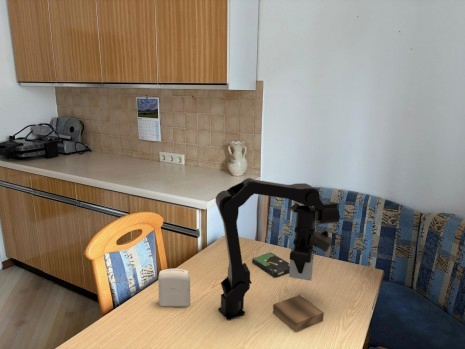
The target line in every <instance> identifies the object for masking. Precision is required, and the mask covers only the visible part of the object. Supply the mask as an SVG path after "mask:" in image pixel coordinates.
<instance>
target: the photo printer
mask: <svg viewBox="0 0 465 349" xmlns="http://www.w3.org/2000/svg"><path fill="white" fill-rule="evenodd" d="M157 280H158V282H157V283H158V303H159V306H161V307H176V308H177V307H189V306H190V305H191V276H190V273H189V270H187V269H181V268H167V269H163V270H160V271H159V274H158V279H157Z"/></svg>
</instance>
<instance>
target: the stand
mask: <svg viewBox="0 0 465 349" xmlns="http://www.w3.org/2000/svg"><path fill="white" fill-rule="evenodd" d="M272 313H273V314H274V315H275V316H276V317H278V318H279V319H280V320H281V321H282V322H283V323H284V324H285V325H287V326H288V327H289V328H290V329H291V330H293V331H294V332H295V333H297V332H300V331H302V330H304V329H307V328H309V327H312V326H314V325H317V324H319V323H321V322H323V321H324V314H325V312H324V311H323V310H321V308H319V307H318V306H316V305H314V304H313V303H312V302H310V301H309V300H307V299H306V298H305V297H303V296H302V295H301V294H297V295H295V296H292V297H289V298H287V299H284V300H281V301H277V302H275V303H273V304H272Z"/></svg>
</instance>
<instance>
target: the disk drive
mask: <svg viewBox="0 0 465 349" xmlns="http://www.w3.org/2000/svg"><path fill="white" fill-rule="evenodd" d="M251 264H253V265H255V266H256V267H258V268H259V269H260V270H262V271H264V272H265V273H267V274H268V275H269V276H271V277H273V278H274V279H277V278H280V277H283V276H285V275H289V271H290V262H288V261H287V260H285V259H283V258H282V257H280V256H278V255H276V254H275V253H273V252H267V253H265V254H261V255H259V256H256V257H253V258H252V259H251Z"/></svg>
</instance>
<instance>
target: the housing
mask: <svg viewBox="0 0 465 349" xmlns="http://www.w3.org/2000/svg"><path fill="white" fill-rule="evenodd" d="M314 257H315V254H313V253H312V256H311V262H310V263H305V266H304V269H303V272H302V274H300V273H298V270H297V268H296V265H295V263H294V261H293V260H290V259H289V261H290V262H289V263H290V271H289V274H288V277H289V278H292V279H293V278H294V279H300V280H305V281H311V282H312V279H313V271H314V270H313V269H314V268H313V267H314Z"/></svg>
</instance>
